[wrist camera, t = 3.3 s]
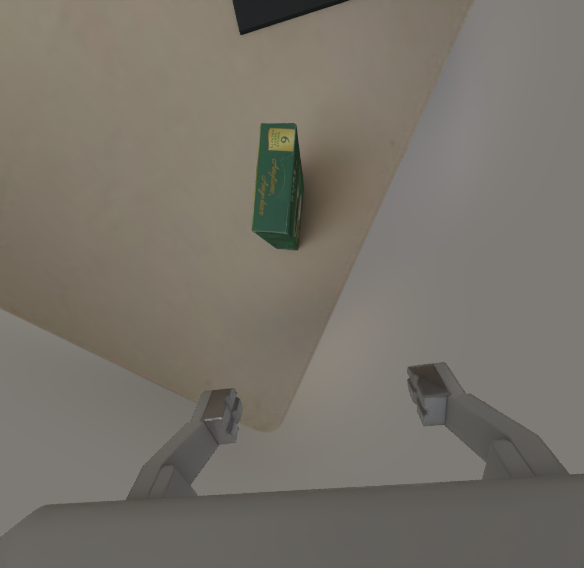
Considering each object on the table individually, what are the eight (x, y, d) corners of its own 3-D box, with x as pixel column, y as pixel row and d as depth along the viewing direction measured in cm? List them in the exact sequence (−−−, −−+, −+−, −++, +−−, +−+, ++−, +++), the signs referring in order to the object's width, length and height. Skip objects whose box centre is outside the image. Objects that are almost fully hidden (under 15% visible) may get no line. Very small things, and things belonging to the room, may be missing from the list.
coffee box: (281, 181, 31) (258, 118, 18) (304, 183, 30) (299, 120, 17) (275, 248, 31) (248, 235, 18) (298, 250, 31) (288, 238, 18)
